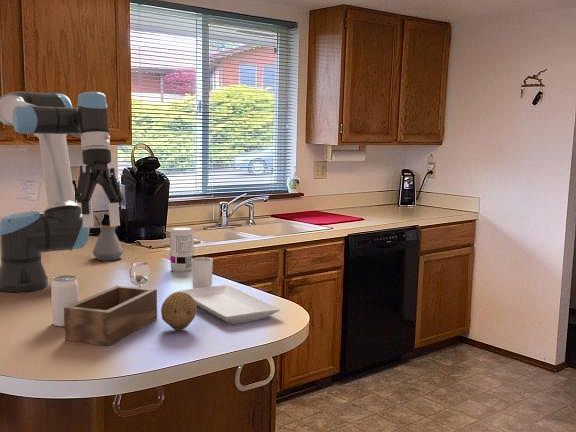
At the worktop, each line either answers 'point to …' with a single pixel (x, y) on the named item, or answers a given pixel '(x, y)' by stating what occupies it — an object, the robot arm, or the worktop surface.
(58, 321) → the can
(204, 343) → the worktop surface
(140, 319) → the narrow open box
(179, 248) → the supplement can
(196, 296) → the tray
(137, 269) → the wineglass
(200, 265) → the white cup
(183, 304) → the natural sponge
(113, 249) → the coffee pot
